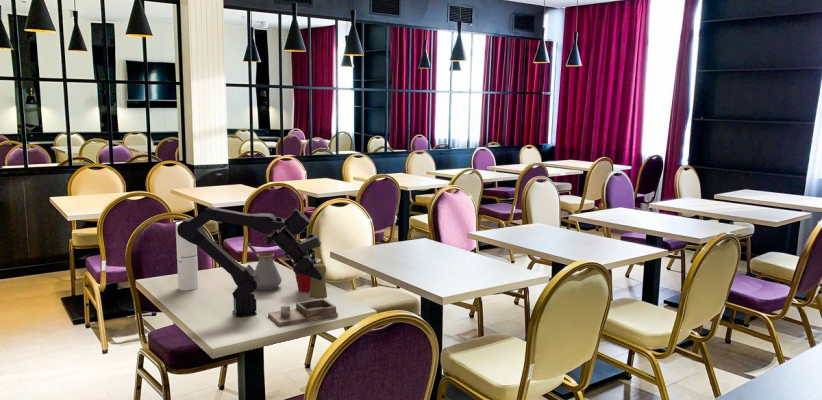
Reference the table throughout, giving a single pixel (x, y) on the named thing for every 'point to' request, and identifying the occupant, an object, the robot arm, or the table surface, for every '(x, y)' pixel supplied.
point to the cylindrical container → (186, 263)
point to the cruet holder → (304, 312)
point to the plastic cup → (304, 280)
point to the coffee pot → (266, 271)
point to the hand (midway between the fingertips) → (322, 277)
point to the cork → (318, 284)
